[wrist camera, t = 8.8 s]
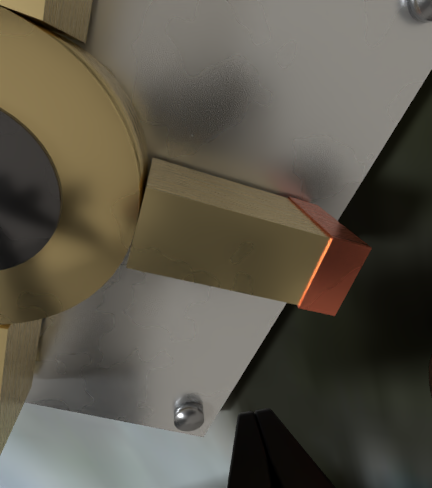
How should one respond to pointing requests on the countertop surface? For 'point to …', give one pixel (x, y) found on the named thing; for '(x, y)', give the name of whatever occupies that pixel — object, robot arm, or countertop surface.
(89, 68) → the brass cross latch
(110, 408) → the flange plate
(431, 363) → the brown clawed figurine
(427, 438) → the countertop surface
